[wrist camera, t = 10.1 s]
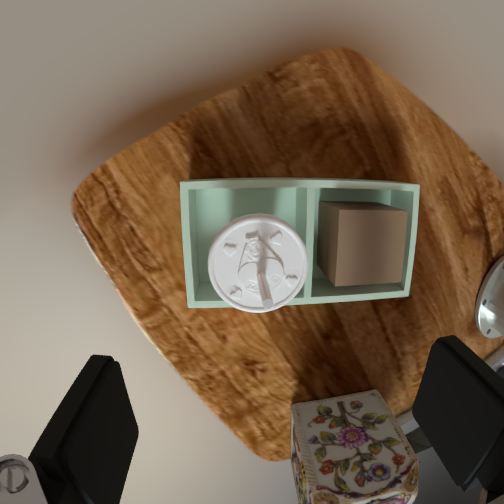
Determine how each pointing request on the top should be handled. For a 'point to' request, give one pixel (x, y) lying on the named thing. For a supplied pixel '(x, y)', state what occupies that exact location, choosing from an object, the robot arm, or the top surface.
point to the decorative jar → (351, 452)
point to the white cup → (257, 263)
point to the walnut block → (361, 242)
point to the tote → (294, 213)
